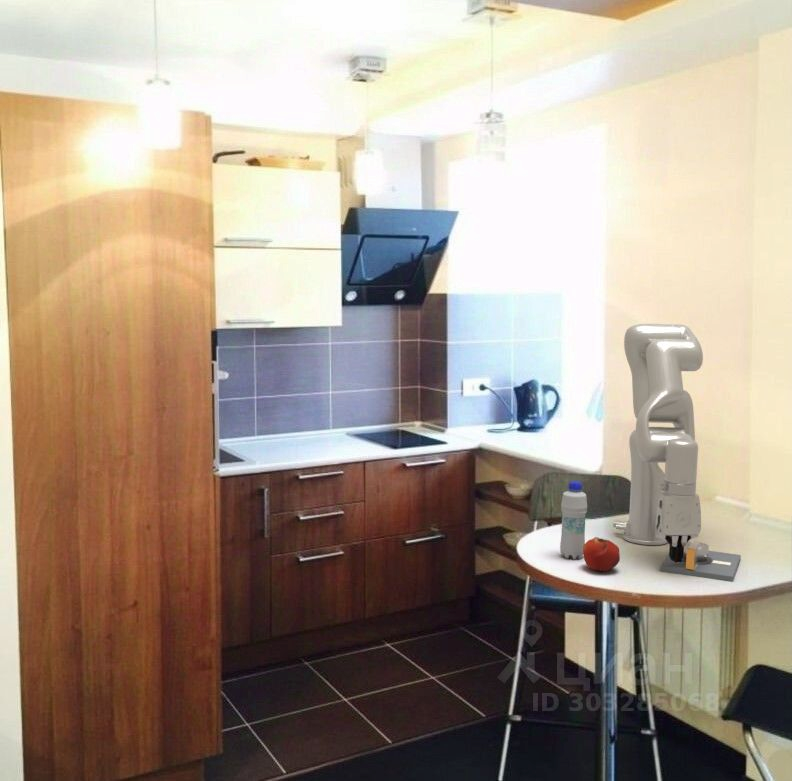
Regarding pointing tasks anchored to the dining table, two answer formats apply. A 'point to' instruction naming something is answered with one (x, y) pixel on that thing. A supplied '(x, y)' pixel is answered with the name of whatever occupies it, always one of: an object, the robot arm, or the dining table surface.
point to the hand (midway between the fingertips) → (675, 560)
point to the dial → (695, 554)
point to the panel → (707, 566)
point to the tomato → (601, 554)
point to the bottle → (573, 521)
